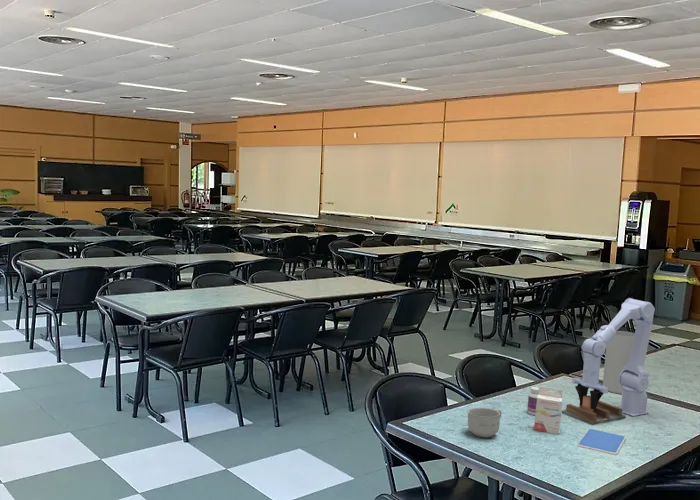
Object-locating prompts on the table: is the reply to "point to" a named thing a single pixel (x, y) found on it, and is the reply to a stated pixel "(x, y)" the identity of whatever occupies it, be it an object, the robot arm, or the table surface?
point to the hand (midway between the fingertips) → (588, 406)
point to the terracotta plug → (587, 403)
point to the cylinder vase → (617, 360)
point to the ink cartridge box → (548, 410)
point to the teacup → (484, 421)
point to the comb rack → (595, 413)
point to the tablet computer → (602, 441)
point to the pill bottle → (532, 400)
